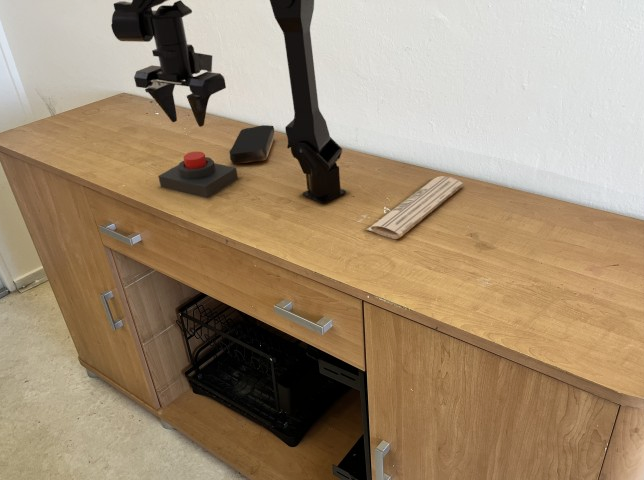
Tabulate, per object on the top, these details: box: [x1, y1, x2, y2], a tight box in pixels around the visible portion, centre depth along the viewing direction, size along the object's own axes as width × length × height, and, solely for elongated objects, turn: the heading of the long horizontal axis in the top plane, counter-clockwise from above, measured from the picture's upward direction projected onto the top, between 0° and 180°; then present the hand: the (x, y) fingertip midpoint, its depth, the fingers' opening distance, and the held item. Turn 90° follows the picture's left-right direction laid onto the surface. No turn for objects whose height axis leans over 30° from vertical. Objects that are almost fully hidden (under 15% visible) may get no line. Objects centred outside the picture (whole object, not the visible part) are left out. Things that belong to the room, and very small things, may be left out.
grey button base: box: [158, 156, 239, 199], centre depth 130 cm, size 13×10×4 cm
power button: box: [183, 151, 207, 169], centre depth 128 cm, size 4×4×2 cm
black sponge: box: [229, 124, 275, 165], centre depth 142 cm, size 16×8×4 cm, turn 177°
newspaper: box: [366, 175, 464, 240], centre depth 116 cm, size 24×7×2 cm, turn 143°
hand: (187, 123), depth 124 cm, fingers open, 7 cm apart
